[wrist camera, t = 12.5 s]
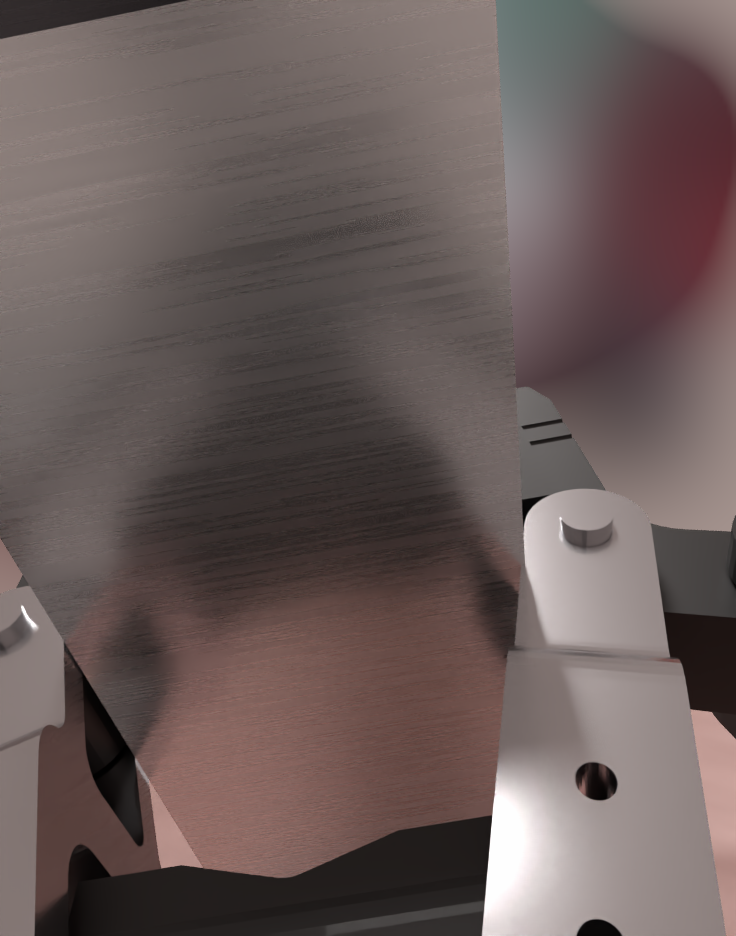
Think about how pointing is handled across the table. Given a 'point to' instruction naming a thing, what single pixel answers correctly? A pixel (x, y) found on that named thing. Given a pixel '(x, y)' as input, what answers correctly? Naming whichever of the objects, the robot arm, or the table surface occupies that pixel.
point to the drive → (267, 401)
